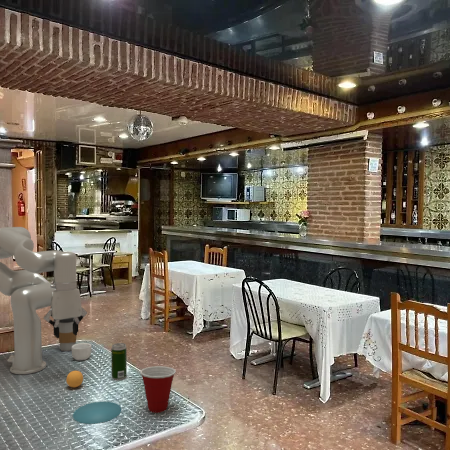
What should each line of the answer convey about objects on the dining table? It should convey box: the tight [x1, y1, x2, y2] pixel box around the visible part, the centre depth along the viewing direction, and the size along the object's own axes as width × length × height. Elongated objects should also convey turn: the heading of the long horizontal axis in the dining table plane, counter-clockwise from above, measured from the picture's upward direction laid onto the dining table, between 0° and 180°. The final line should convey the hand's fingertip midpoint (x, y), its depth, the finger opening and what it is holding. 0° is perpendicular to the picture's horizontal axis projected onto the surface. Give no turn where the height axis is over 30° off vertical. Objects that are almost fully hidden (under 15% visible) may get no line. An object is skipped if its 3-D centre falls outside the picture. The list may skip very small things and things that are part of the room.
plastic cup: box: [140, 365, 177, 414], centre depth 133 cm, size 11×11×12 cm
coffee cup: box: [58, 318, 77, 352], centre depth 188 cm, size 8×8×15 cm
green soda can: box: [110, 342, 128, 381], centre depth 157 cm, size 5×5×12 cm
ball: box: [65, 370, 84, 388], centre depth 149 cm, size 6×6×6 cm
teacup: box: [71, 342, 92, 362], centre depth 177 cm, size 10×8×5 cm
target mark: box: [72, 400, 122, 425], centre depth 130 cm, size 14×14×1 cm
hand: (66, 335), depth 156 cm, fingers open, 5 cm apart
